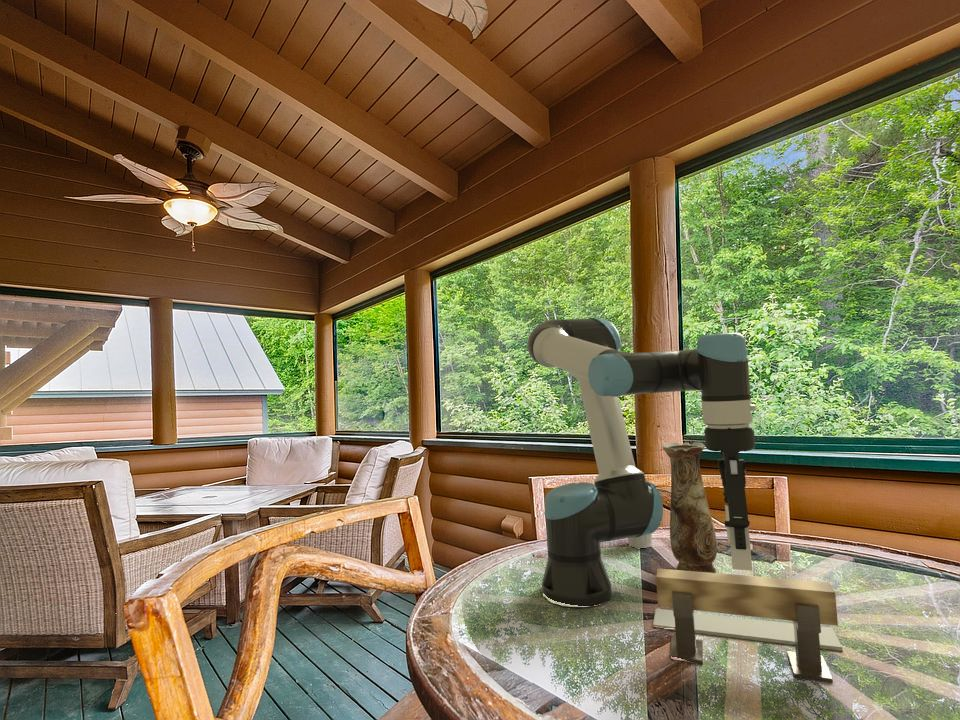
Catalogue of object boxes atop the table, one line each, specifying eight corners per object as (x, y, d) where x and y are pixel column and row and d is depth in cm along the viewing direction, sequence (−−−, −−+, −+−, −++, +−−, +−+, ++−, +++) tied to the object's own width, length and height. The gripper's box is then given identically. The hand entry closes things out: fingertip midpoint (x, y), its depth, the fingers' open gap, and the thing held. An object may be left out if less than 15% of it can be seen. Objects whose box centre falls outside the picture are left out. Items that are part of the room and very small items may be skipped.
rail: (658, 606, 89) (656, 576, 90) (659, 596, 93) (657, 568, 93) (837, 625, 79) (835, 592, 80) (831, 614, 83) (829, 582, 83)
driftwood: (781, 561, 128) (780, 553, 129) (766, 568, 125) (765, 559, 125) (706, 543, 146) (706, 535, 146) (691, 548, 143) (690, 540, 143)
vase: (721, 580, 118) (711, 447, 119) (671, 577, 121) (662, 447, 122) (716, 563, 128) (707, 441, 129) (670, 561, 131) (661, 441, 132)
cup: (640, 552, 139) (636, 506, 140) (619, 544, 147) (616, 501, 147) (661, 546, 143) (658, 501, 144) (640, 538, 150) (637, 496, 151)
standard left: (670, 659, 87) (665, 592, 88) (672, 639, 94) (667, 577, 94) (702, 664, 85) (697, 595, 86) (702, 643, 92) (697, 580, 92)
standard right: (794, 677, 80) (788, 604, 81) (787, 654, 87) (782, 587, 87) (832, 682, 78) (826, 608, 79) (822, 659, 85) (817, 590, 85)
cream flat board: (653, 627, 98) (653, 624, 98) (656, 611, 105) (655, 608, 105) (842, 650, 87) (842, 647, 87) (832, 631, 93) (832, 627, 93)
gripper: (761, 433, 74) (775, 585, 73) (746, 418, 97) (756, 534, 96) (704, 434, 77) (716, 580, 76) (703, 420, 100) (712, 532, 99)
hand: (739, 555), depth 86 cm, fingers open, 13 cm apart
